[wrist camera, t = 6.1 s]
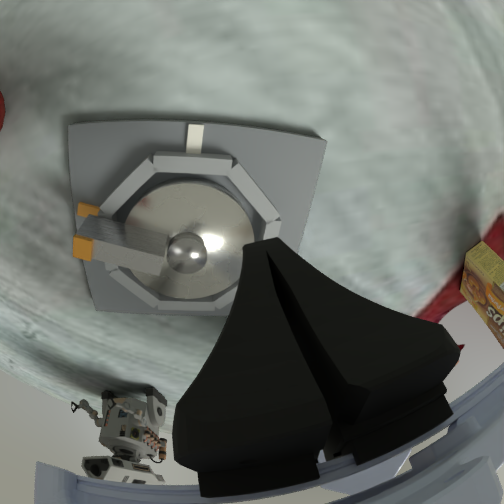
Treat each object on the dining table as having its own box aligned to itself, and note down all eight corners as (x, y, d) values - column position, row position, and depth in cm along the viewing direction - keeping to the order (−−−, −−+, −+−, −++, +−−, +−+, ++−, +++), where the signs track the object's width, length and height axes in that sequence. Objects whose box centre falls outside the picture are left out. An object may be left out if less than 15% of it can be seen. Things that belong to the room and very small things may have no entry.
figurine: (132, 363, 28) (127, 484, 16) (171, 401, 35) (177, 494, 23) (77, 369, 28) (63, 473, 16) (121, 406, 35) (120, 491, 22)
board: (276, 307, 26) (281, 324, 24) (98, 303, 22) (93, 320, 20) (321, 138, 17) (335, 145, 16) (74, 122, 14) (59, 128, 12)
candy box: (475, 278, 32) (528, 344, 20) (458, 292, 33) (511, 363, 21) (481, 238, 27) (550, 311, 15) (463, 253, 28) (533, 332, 16)
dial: (271, 200, 18) (289, 231, 15) (225, 296, 23) (231, 335, 19) (105, 151, 14) (80, 172, 11) (89, 264, 19) (73, 301, 15)
